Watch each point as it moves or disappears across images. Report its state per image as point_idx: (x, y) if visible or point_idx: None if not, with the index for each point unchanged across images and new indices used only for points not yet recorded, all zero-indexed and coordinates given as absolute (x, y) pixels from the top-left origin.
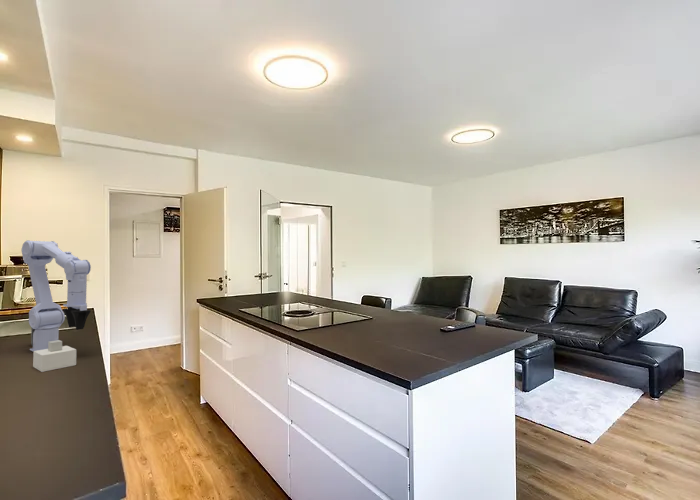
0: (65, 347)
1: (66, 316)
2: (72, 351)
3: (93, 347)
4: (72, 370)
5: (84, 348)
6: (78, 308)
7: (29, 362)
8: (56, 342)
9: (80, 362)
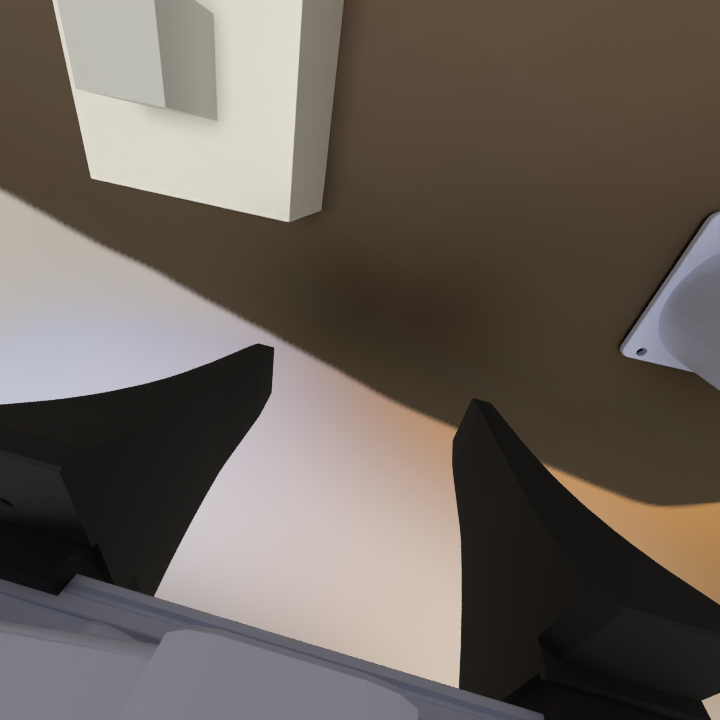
0: (223, 175)
1: (555, 491)
2: (94, 150)
3: None
4: (62, 97)
5: (503, 408)
6: (106, 611)
7: (513, 35)
8: (65, 20)
9: (211, 222)
